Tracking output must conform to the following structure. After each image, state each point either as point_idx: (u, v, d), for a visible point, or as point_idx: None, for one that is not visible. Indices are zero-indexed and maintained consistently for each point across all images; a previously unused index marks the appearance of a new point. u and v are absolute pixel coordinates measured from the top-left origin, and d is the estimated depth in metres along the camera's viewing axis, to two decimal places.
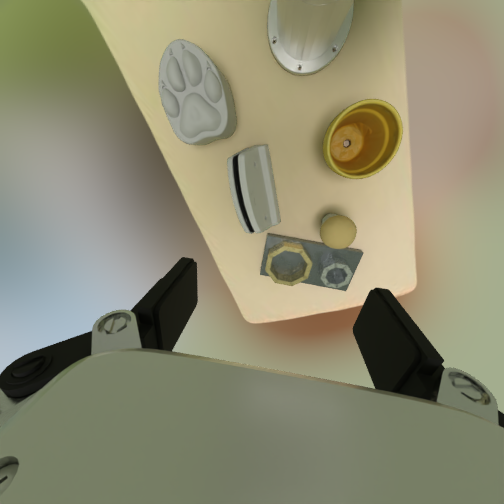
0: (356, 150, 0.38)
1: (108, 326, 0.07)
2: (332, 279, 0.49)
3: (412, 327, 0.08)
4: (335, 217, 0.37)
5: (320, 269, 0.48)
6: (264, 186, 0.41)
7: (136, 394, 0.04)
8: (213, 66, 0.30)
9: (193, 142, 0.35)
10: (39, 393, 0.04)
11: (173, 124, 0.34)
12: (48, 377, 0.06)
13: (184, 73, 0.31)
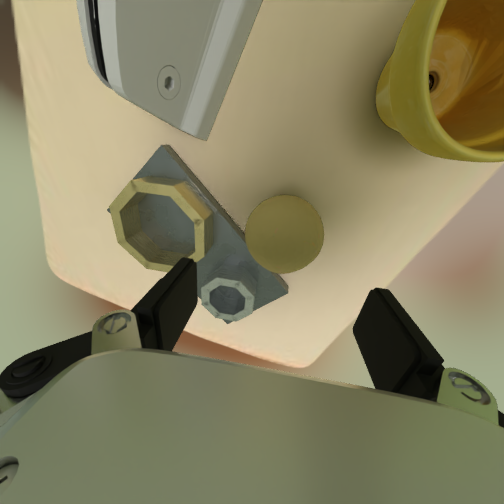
0: None
1: (108, 326, 0.07)
2: (219, 299, 0.27)
3: (412, 327, 0.08)
4: (303, 201, 0.15)
5: (212, 273, 0.25)
6: (219, 5, 0.14)
7: (136, 394, 0.04)
8: None
9: None
10: (39, 393, 0.04)
11: None
12: (48, 377, 0.06)
13: None
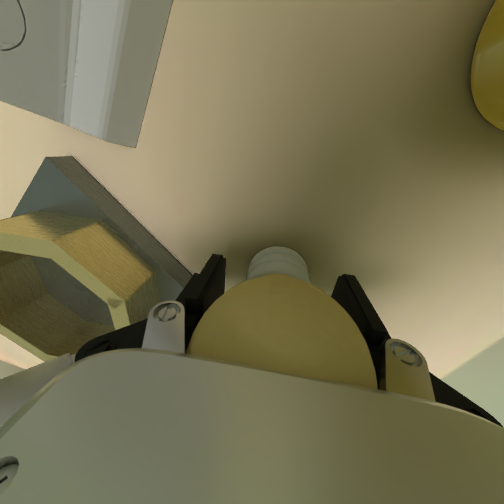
0: None
1: (161, 314, 0.07)
2: None
3: (367, 306, 0.08)
4: (326, 313, 0.06)
5: None
6: None
7: (136, 394, 0.04)
8: None
9: None
10: (39, 393, 0.04)
11: None
12: None
13: None
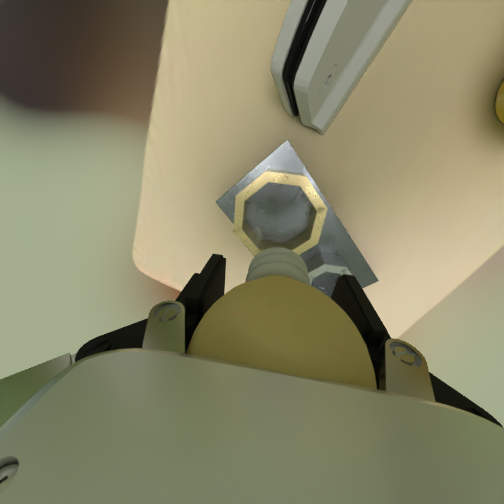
0: None
1: (161, 314, 0.07)
2: None
3: (367, 306, 0.08)
4: (325, 315, 0.06)
5: (311, 262, 0.27)
6: (379, 13, 0.17)
7: (136, 394, 0.04)
8: None
9: None
10: (39, 393, 0.04)
11: None
12: None
13: None
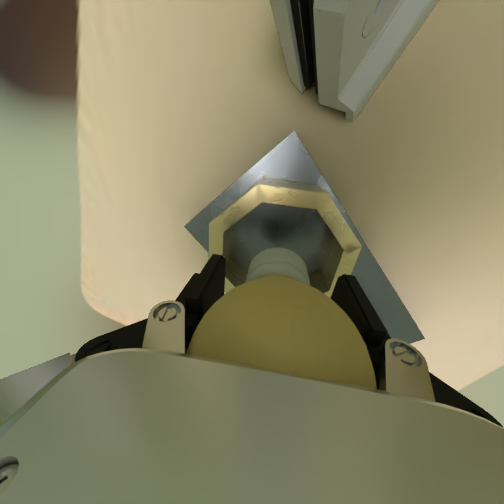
0: None
1: (162, 314, 0.07)
2: None
3: (367, 306, 0.08)
4: (325, 315, 0.06)
5: None
6: None
7: (136, 394, 0.04)
8: None
9: None
10: (39, 393, 0.04)
11: None
12: None
13: None
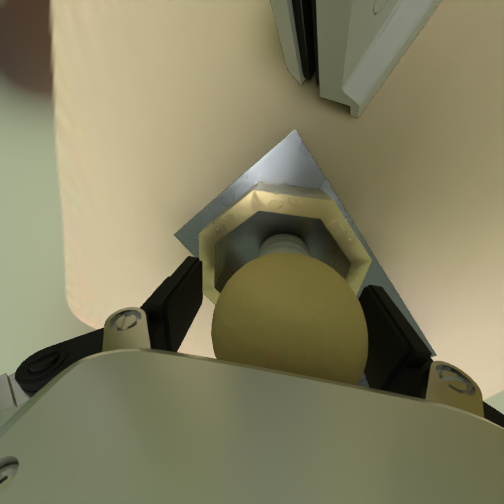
0: None
1: (119, 323, 0.07)
2: None
3: (403, 322, 0.08)
4: (327, 275, 0.07)
5: None
6: None
7: (136, 394, 0.04)
8: None
9: None
10: (39, 393, 0.04)
11: None
12: None
13: None
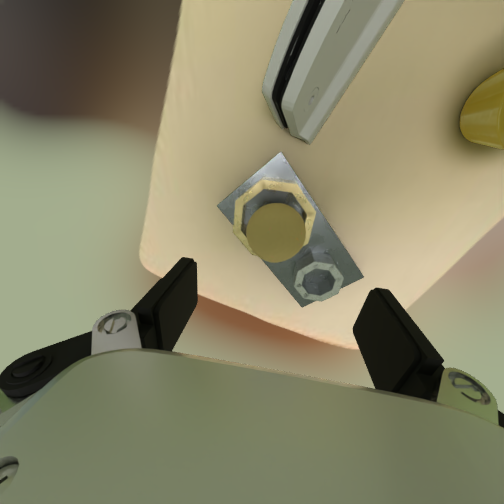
0: None
1: (108, 326, 0.07)
2: (304, 283, 0.31)
3: (412, 327, 0.08)
4: (290, 207, 0.21)
5: (303, 260, 0.30)
6: (354, 44, 0.19)
7: (136, 394, 0.04)
8: None
9: None
10: (39, 393, 0.04)
11: None
12: (48, 377, 0.06)
13: None
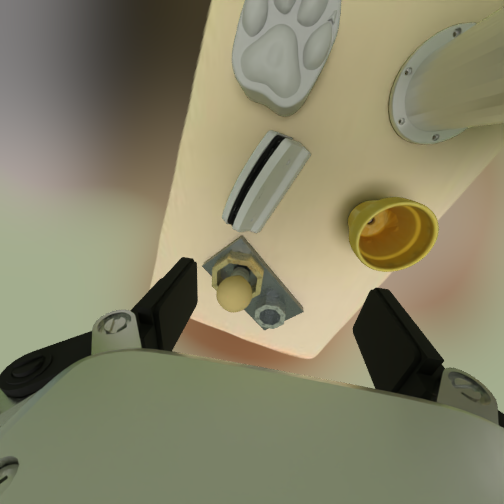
0: (371, 232, 0.36)
1: (108, 326, 0.07)
2: (262, 315, 0.46)
3: (412, 327, 0.08)
4: (241, 282, 0.35)
5: (260, 301, 0.44)
6: (276, 189, 0.34)
7: (136, 394, 0.04)
8: (337, 25, 0.21)
9: (245, 85, 0.24)
10: (39, 393, 0.04)
11: (239, 40, 0.22)
12: (48, 377, 0.06)
13: None
